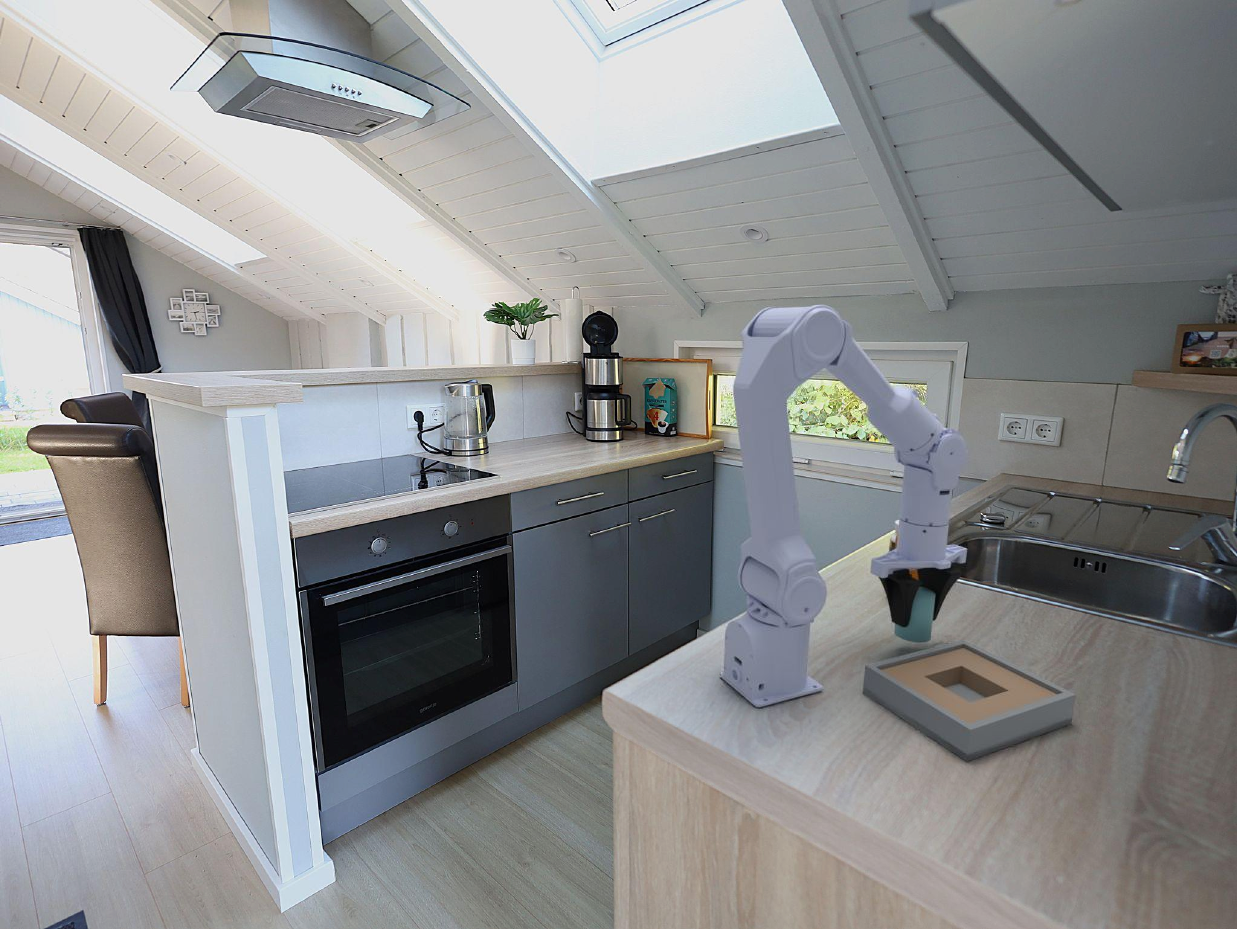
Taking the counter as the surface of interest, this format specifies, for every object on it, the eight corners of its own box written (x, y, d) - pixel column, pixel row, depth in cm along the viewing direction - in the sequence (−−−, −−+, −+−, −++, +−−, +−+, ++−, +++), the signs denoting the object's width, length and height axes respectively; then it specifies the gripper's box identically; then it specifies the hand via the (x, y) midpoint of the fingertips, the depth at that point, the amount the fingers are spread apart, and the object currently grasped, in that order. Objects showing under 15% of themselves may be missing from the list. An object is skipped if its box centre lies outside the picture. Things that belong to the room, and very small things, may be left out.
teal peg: (913, 645, 85) (917, 600, 84) (886, 631, 89) (890, 588, 88) (938, 638, 87) (943, 595, 86) (911, 625, 91) (915, 583, 90)
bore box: (966, 761, 66) (970, 729, 66) (862, 692, 79) (865, 665, 78) (1071, 723, 73) (1075, 694, 72) (959, 665, 85) (962, 639, 85)
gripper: (906, 535, 78) (895, 644, 81) (992, 522, 84) (979, 623, 87) (861, 520, 85) (853, 621, 87) (944, 508, 91) (934, 603, 93)
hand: (913, 620), depth 88 cm, fingers closed on teal peg, 4 cm apart
